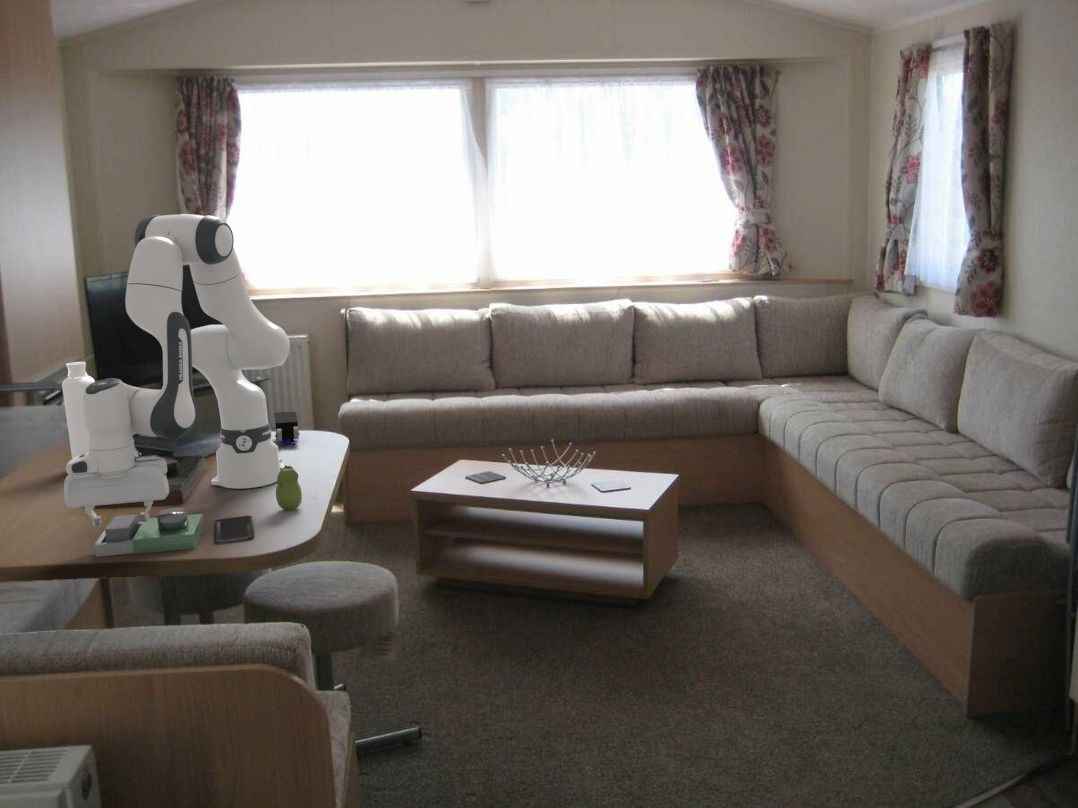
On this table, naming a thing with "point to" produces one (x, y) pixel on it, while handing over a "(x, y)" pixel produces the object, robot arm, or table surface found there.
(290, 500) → the pear
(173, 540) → the multicoloured piece
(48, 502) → the table surface
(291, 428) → the figurine character
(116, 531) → the grey rectangular cuboid
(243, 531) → the phone
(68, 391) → the bottle
